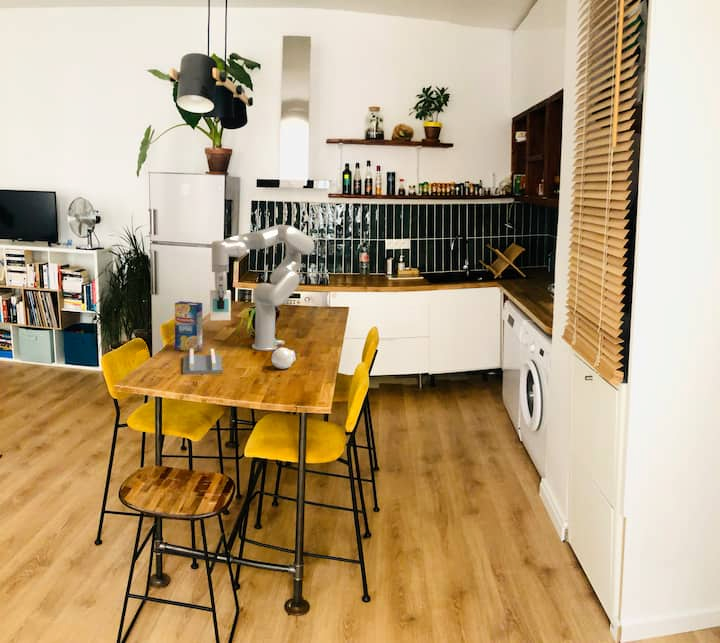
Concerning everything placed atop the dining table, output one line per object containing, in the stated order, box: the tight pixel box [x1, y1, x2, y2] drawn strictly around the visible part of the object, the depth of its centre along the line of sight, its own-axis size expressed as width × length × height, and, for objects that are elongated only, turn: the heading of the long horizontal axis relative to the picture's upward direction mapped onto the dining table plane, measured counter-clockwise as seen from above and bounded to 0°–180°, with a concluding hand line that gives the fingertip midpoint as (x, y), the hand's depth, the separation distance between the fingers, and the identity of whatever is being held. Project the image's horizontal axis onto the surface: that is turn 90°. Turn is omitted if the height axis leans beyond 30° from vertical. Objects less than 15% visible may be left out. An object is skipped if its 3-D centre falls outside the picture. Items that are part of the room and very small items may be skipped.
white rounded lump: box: [271, 347, 298, 370], centre depth 312 cm, size 9×10×15 cm
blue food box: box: [174, 300, 203, 352], centre depth 336 cm, size 7×11×22 cm, turn 80°
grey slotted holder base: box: [182, 348, 224, 375], centre depth 308 cm, size 16×26×4 cm, turn 13°
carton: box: [209, 289, 232, 321], centre depth 325 cm, size 5×9×13 cm, turn 103°
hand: (220, 307), depth 325 cm, fingers closed on carton, 5 cm apart
